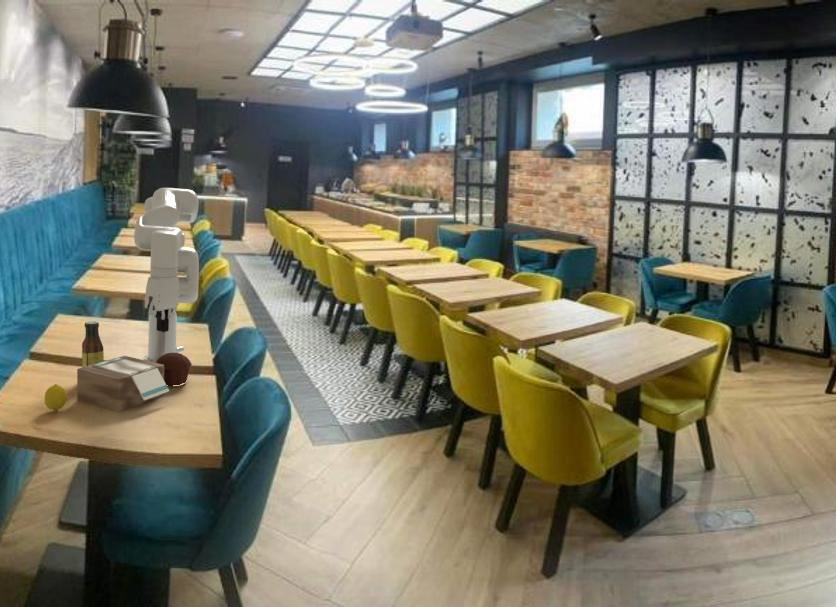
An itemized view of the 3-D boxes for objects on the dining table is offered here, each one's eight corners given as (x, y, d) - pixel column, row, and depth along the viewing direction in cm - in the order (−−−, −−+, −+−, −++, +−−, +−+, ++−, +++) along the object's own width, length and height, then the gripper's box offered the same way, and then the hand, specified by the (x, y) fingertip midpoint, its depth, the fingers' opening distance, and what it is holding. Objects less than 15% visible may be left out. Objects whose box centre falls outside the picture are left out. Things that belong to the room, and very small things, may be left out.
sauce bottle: (108, 380, 209) (108, 321, 206) (96, 385, 203) (97, 325, 199) (89, 377, 210) (89, 319, 206) (77, 383, 204) (77, 323, 200)
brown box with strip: (124, 385, 206) (124, 353, 204) (163, 395, 201) (164, 363, 199) (77, 400, 189) (77, 366, 187) (118, 412, 184) (119, 377, 182)
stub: (156, 368, 195) (157, 367, 195) (168, 391, 195) (169, 390, 194) (131, 376, 186) (132, 375, 186) (143, 400, 185) (145, 399, 185)
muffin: (146, 383, 210) (147, 354, 208) (171, 375, 220) (171, 347, 218) (174, 390, 206) (175, 361, 204) (198, 382, 216) (199, 354, 214)
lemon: (50, 407, 183) (50, 380, 181) (70, 408, 183) (70, 382, 182) (40, 414, 177) (40, 386, 176) (61, 415, 178) (61, 388, 176)
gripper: (171, 267, 198) (169, 323, 202) (135, 273, 184) (134, 333, 188) (191, 271, 195) (189, 328, 199) (155, 277, 181) (154, 338, 186)
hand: (162, 330), depth 194 cm, fingers closed
